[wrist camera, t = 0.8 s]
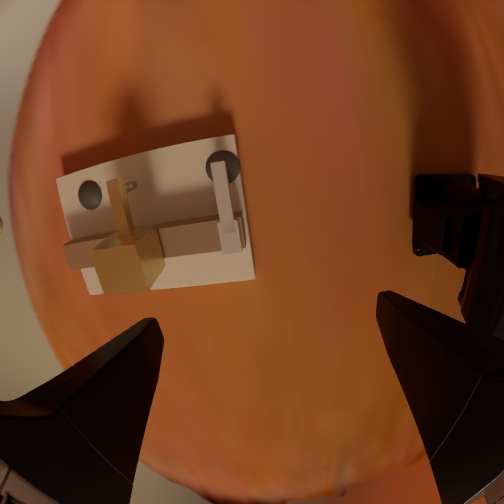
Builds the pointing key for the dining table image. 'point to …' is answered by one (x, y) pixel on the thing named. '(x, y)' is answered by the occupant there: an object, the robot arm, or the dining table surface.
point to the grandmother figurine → (1, 225)
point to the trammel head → (127, 248)
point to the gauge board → (168, 212)
